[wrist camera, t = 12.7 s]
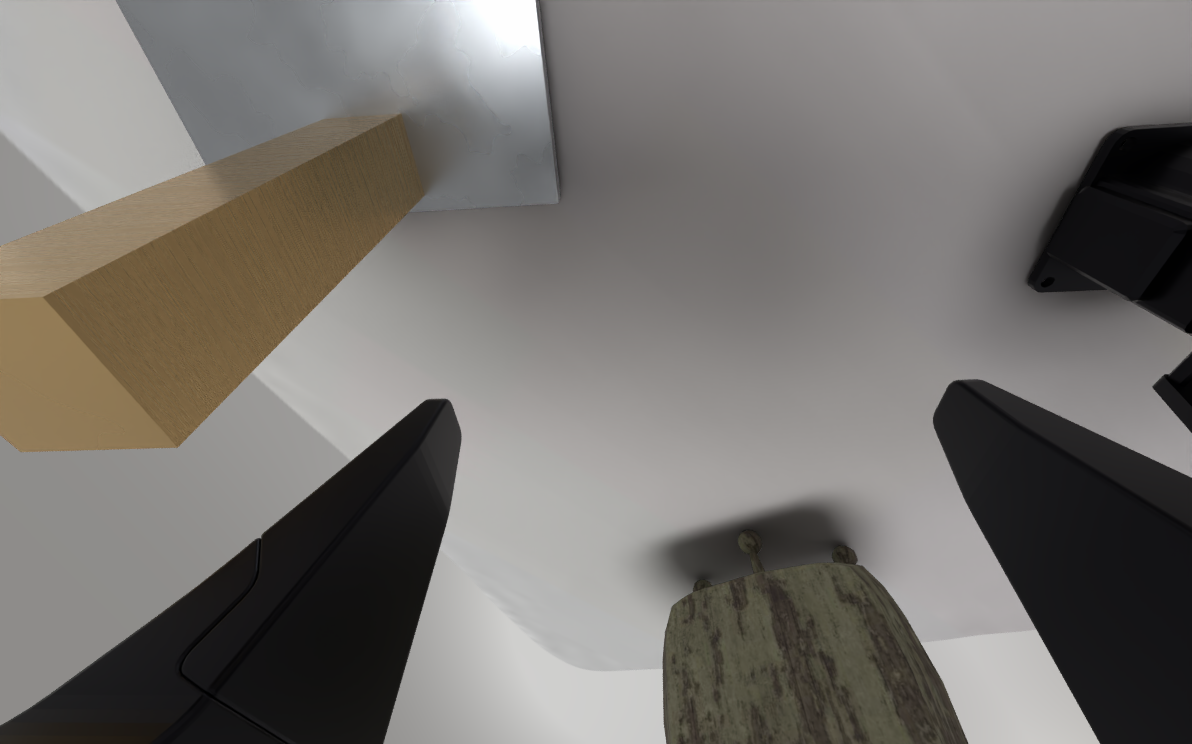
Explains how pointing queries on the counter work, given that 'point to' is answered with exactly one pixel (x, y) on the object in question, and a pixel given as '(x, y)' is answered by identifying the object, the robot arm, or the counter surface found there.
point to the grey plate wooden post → (263, 200)
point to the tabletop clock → (800, 661)
